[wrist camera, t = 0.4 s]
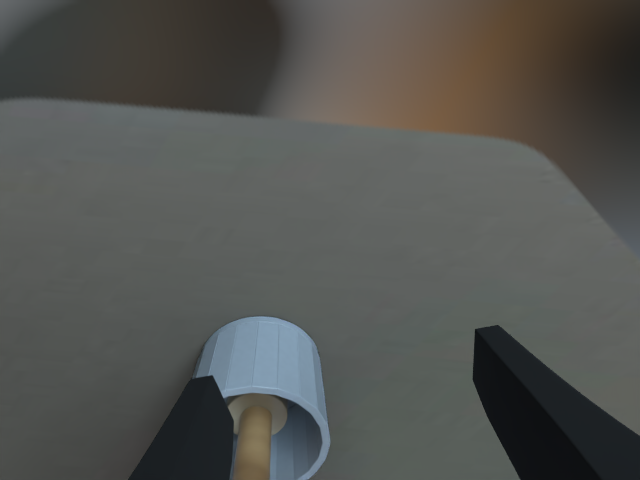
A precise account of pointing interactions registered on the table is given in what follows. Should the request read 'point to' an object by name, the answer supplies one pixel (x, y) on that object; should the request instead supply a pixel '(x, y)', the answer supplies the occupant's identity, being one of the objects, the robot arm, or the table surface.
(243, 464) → the brush
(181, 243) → the table surface
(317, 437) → the blue pencil cup
